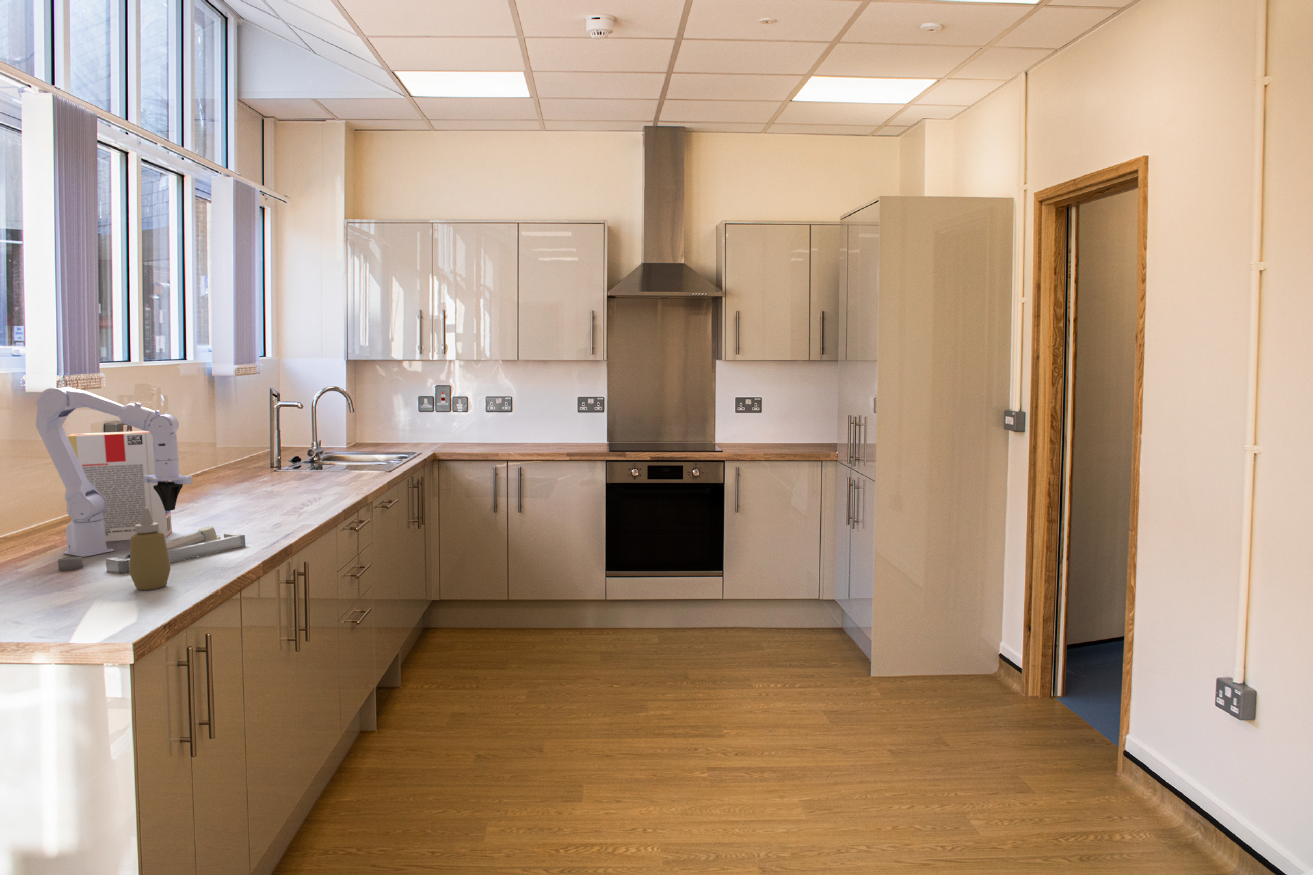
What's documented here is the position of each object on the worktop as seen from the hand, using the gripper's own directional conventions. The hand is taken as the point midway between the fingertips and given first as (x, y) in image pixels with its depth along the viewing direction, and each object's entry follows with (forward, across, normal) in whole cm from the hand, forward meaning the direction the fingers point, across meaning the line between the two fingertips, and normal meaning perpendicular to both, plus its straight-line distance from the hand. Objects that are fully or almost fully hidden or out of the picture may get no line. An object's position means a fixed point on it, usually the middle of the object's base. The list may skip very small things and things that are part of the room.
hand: (169, 510), depth 241 cm
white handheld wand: (+11, +10, -8) cm, 16 cm away
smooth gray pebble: (+10, -7, -24) cm, 27 cm away
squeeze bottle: (+11, +28, -33) cm, 45 cm away
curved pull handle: (+10, +11, -8) cm, 17 cm away
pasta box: (+11, -26, +8) cm, 29 cm away
